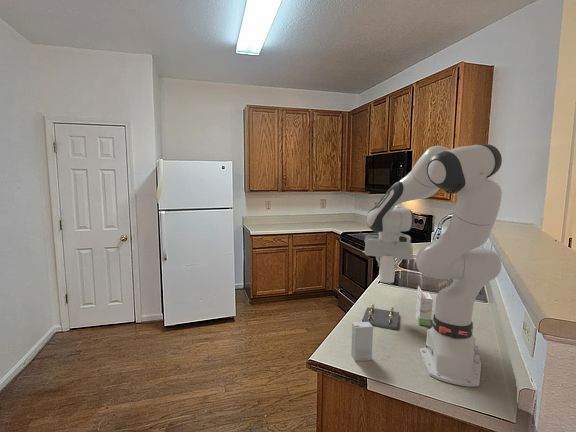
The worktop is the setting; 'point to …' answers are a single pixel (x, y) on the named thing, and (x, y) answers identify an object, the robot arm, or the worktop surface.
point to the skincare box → (362, 341)
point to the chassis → (381, 317)
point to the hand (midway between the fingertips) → (387, 267)
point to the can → (387, 269)
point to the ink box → (423, 308)
